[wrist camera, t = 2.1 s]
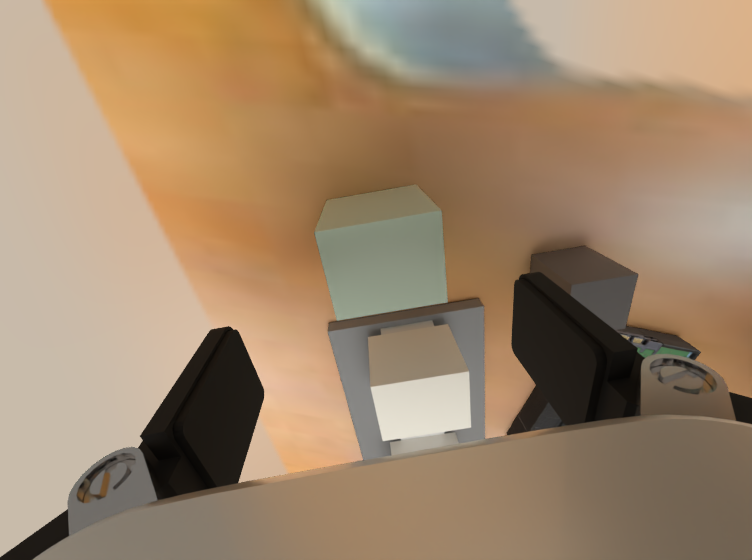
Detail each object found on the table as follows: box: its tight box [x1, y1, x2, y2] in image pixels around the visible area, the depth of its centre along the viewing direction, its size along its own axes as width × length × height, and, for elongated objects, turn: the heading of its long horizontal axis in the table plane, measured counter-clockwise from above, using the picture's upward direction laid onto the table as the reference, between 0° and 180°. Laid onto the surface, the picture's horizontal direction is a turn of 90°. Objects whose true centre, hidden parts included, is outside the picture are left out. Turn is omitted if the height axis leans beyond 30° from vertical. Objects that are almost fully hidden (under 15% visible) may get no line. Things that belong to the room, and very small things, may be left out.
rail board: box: [328, 298, 485, 460], centre depth 26 cm, size 12×18×7 cm, turn 9°
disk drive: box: [507, 326, 701, 435], centre depth 29 cm, size 10×3×15 cm
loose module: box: [314, 184, 448, 321], centre depth 19 cm, size 6×5×7 cm
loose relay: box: [530, 246, 638, 330], centre depth 22 cm, size 4×4×5 cm
